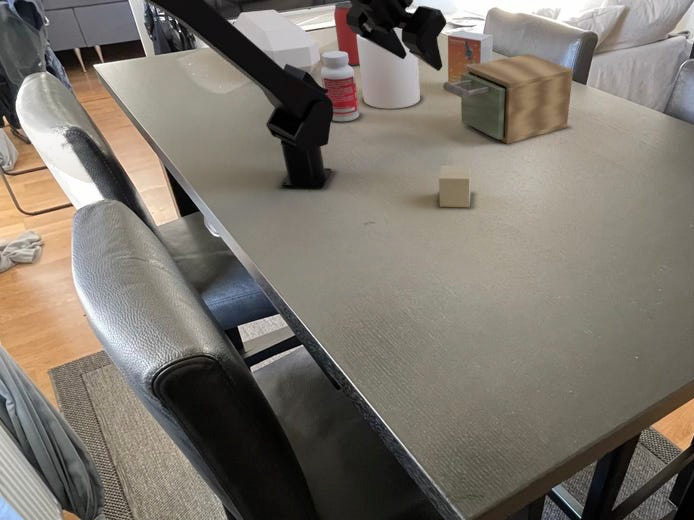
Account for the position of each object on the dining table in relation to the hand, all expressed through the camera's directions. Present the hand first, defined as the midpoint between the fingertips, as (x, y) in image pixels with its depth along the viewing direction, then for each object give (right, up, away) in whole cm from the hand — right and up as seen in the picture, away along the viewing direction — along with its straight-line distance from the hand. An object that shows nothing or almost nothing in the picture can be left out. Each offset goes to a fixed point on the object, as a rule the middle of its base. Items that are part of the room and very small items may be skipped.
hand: (422, 62), depth 97 cm
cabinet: (+17, -4, +15) cm, 23 cm away
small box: (+7, +11, +31) cm, 34 cm away
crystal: (-38, +22, +42) cm, 61 cm away
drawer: (+13, -5, +12) cm, 18 cm away
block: (+6, -26, -9) cm, 28 cm away
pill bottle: (-17, -1, +17) cm, 24 cm away
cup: (-9, +6, +25) cm, 28 cm away
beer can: (-21, +25, +45) cm, 56 cm away
